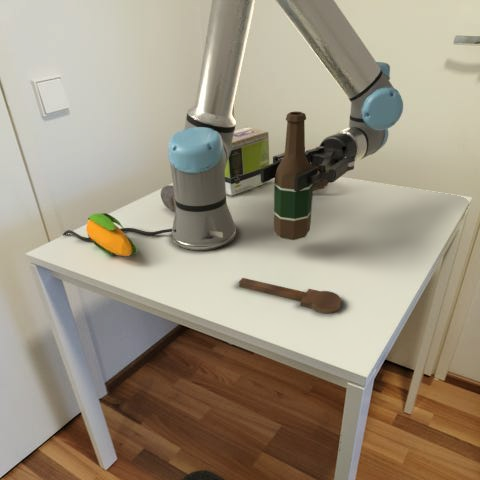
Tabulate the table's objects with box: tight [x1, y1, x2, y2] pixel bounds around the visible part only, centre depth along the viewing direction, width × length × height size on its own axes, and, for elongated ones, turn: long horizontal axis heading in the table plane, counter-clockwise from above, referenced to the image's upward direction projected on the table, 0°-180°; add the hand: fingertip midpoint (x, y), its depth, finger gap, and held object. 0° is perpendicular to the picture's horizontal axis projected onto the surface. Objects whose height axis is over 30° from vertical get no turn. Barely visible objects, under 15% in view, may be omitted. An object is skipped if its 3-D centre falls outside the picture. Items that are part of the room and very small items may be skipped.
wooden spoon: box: [238, 277, 342, 314], centre depth 86 cm, size 20×6×1 cm, turn 63°
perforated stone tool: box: [160, 184, 176, 214], centre depth 119 cm, size 15×5×7 cm, turn 38°
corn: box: [85, 212, 138, 257], centre depth 103 cm, size 7×8×20 cm
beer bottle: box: [273, 111, 314, 241], centre depth 90 cm, size 8×8×24 cm
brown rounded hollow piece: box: [312, 166, 330, 193], centre depth 129 cm, size 12×10×8 cm
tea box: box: [225, 126, 271, 197], centre depth 130 cm, size 15×10×15 cm, turn 130°
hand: (278, 179), depth 86 cm, fingers closed on beer bottle, 7 cm apart
